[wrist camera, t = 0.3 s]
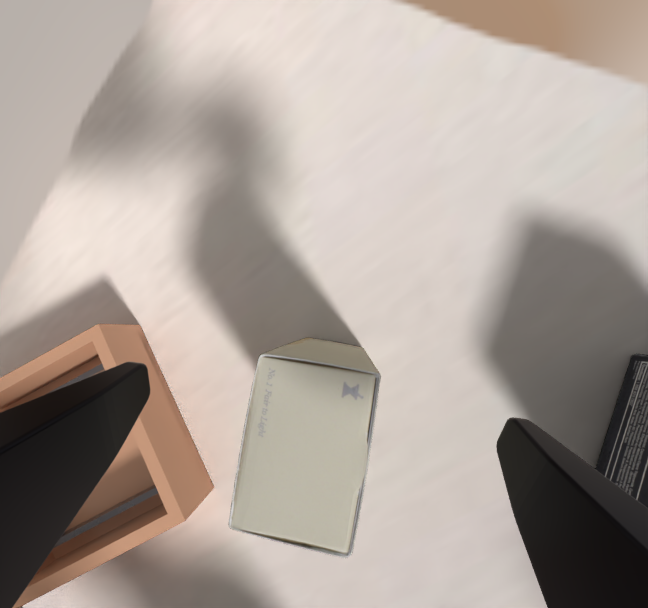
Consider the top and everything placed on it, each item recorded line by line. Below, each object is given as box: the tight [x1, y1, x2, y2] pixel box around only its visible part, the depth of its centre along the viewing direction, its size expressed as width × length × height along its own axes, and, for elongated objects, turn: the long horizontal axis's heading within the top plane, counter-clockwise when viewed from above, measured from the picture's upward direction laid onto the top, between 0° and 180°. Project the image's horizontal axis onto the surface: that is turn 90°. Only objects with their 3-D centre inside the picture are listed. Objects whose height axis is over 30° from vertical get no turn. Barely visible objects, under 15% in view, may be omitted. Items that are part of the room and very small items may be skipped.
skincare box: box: [229, 338, 381, 558], centre depth 17 cm, size 6×4×12 cm
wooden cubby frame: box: [0, 324, 214, 608], centre depth 22 cm, size 13×13×4 cm
